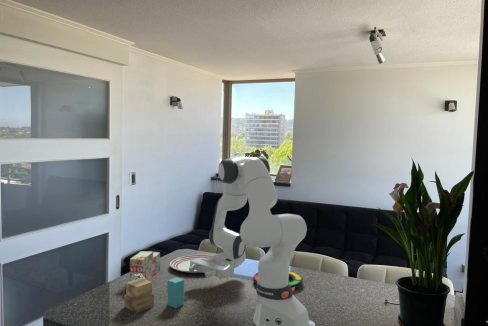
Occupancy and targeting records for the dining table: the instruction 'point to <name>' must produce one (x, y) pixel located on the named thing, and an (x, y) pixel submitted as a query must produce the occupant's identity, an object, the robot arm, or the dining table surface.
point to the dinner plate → (187, 262)
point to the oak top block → (139, 288)
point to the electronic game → (293, 276)
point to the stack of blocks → (145, 264)
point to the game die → (136, 276)
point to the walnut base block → (138, 303)
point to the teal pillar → (175, 292)
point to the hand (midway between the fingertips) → (198, 272)
